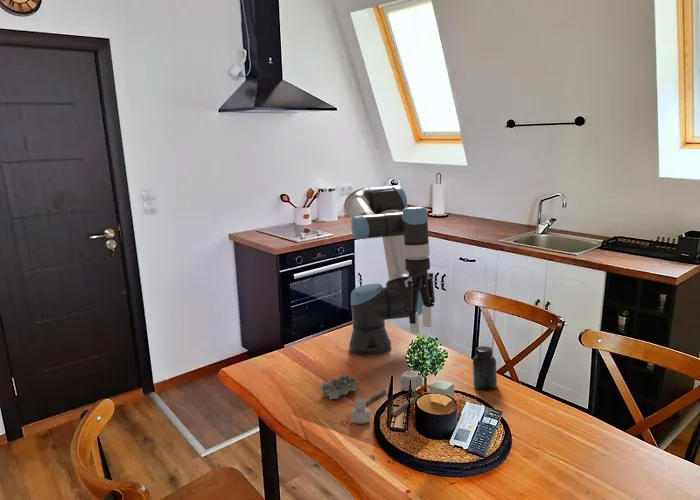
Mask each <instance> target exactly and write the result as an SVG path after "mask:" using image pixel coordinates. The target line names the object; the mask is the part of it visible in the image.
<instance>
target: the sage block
mask: <svg viewBox="0 0 700 500" xmlns="http://www.w3.org/2000/svg"><path fill="white" fill-rule="evenodd" d="M430 393H438V394H443V395H448V396H450V397H452V398H453V399H454V400H453V401H455V399H456V395H455V383H454V382H450V381H446V380H442V379H441V380H440V379H438V380H437V381H435V382H433V383H432V384H431V385H429V394H430Z"/></svg>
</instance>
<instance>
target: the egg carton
mask: <svg viewBox="0 0 700 500" xmlns="http://www.w3.org/2000/svg"><path fill="white" fill-rule="evenodd" d="M358 381H359V379H356V377H352V376H351V375H348V374H346V373H344V374H343V375H341V376H340V377H337V378H334V379H331V380H329V381H328V382H323V383H321V384H320V386H319V389H322V390H321V391H322V396H323V397H324V398H326V397H329V400H334V399H340V396H343V395H344V396H345V395H346V396H347V394H348V393H349V392H354V391H357V388H358Z"/></svg>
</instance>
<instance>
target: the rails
mask: <svg viewBox="0 0 700 500" xmlns="http://www.w3.org/2000/svg"><path fill="white" fill-rule="evenodd" d="M384 395H386V389H382V390H380V391H377V392H376V393H375V394H373V395H371V396H370V397H368V398H367V399H364V400H365V402H366V407H367V406H369V405H371V404H372V403H374V402H375V401H377V400H378V399H379V398H381V397H383V396H384ZM409 399H410V406H412V405H413V404H414V403H416V398H415V397H411V398H409ZM409 399H408V400H409ZM408 400H406V401H404V402H403V403H402V404H400V405H399V406H397V407H396V408H393V409H392V410H391V416H393V417H394V416H395V417H396V416H397V415H398V414H401V412H403V411H405V410H406V409H407V408H408V407H407V406H408V404H409V402H408Z"/></svg>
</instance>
